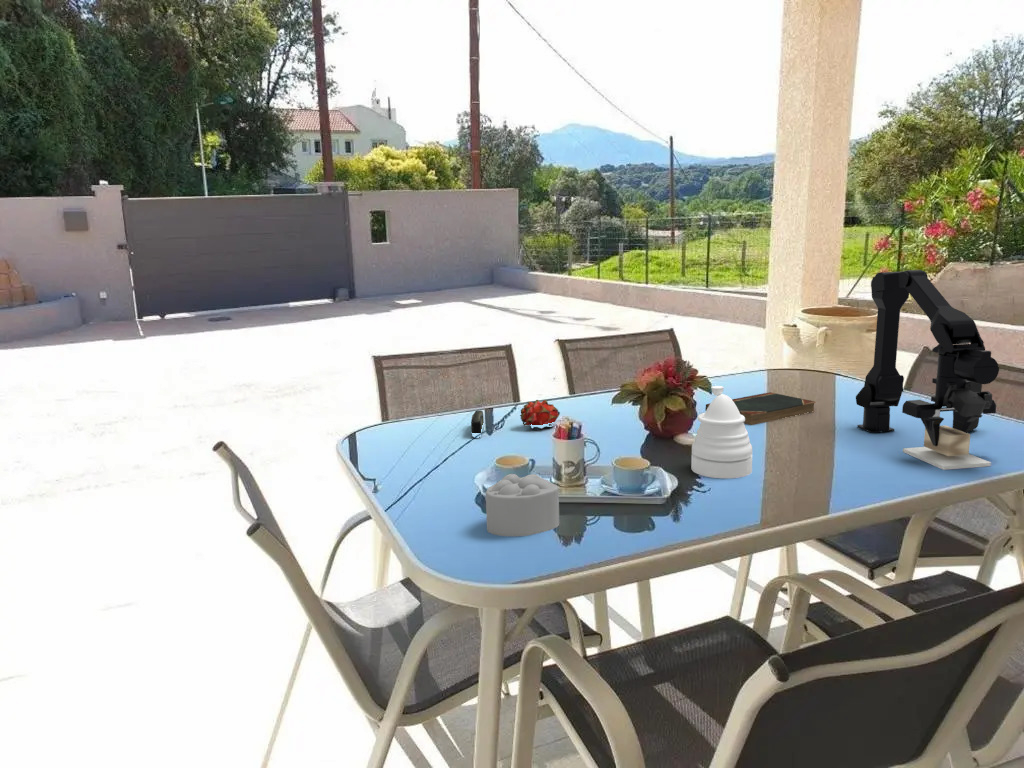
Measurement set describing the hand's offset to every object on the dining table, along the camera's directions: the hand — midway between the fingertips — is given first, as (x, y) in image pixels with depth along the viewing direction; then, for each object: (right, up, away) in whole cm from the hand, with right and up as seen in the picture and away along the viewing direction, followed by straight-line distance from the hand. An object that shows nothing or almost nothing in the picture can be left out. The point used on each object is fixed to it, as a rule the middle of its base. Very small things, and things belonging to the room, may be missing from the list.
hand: (946, 444), depth 176 cm
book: (-26, +5, +48) cm, 55 cm away
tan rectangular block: (0, -1, 0) cm, 1 cm away
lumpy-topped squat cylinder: (-94, -13, -30) cm, 100 cm away
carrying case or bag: (+15, +1, +21) cm, 26 cm away
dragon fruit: (-88, +1, +39) cm, 96 cm away
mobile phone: (-105, 0, +37) cm, 111 cm away
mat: (0, -3, +1) cm, 3 cm away
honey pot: (-50, -5, -2) cm, 50 cm away
